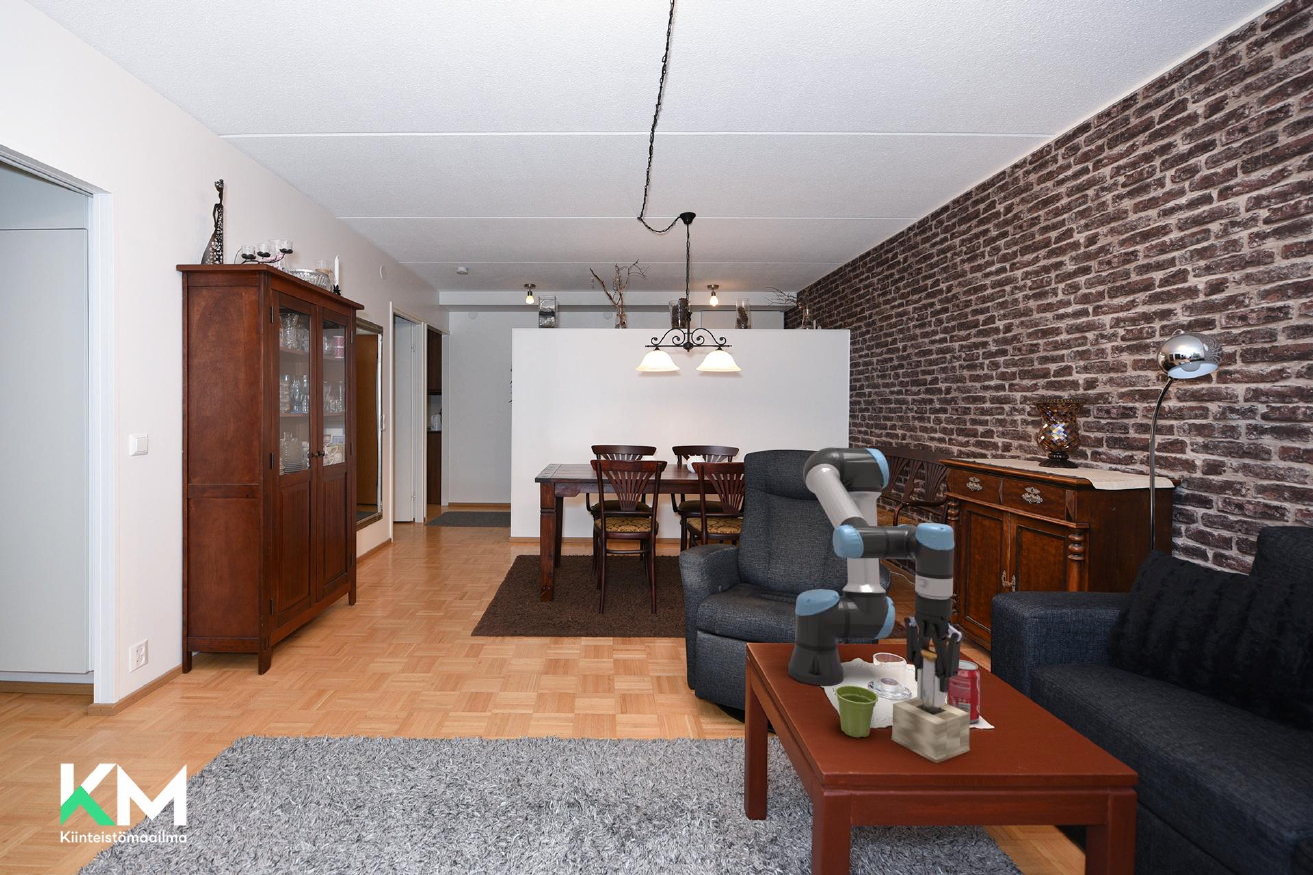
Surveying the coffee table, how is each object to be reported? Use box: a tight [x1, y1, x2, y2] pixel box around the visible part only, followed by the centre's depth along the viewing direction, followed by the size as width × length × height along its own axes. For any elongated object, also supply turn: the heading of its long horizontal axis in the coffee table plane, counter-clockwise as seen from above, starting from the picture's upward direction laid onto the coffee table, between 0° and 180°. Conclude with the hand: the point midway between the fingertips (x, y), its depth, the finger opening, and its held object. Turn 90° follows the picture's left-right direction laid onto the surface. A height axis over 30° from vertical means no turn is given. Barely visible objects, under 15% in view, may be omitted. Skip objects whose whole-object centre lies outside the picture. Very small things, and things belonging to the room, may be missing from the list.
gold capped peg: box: [921, 646, 940, 715], centre depth 135 cm, size 5×5×17 cm
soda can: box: [946, 659, 981, 724], centre depth 149 cm, size 7×7×13 cm
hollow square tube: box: [891, 696, 971, 764], centre depth 135 cm, size 11×11×8 cm
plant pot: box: [834, 685, 879, 738], centre depth 140 cm, size 9×9×9 cm
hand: (930, 701), depth 135 cm, fingers closed on gold capped peg, 4 cm apart
